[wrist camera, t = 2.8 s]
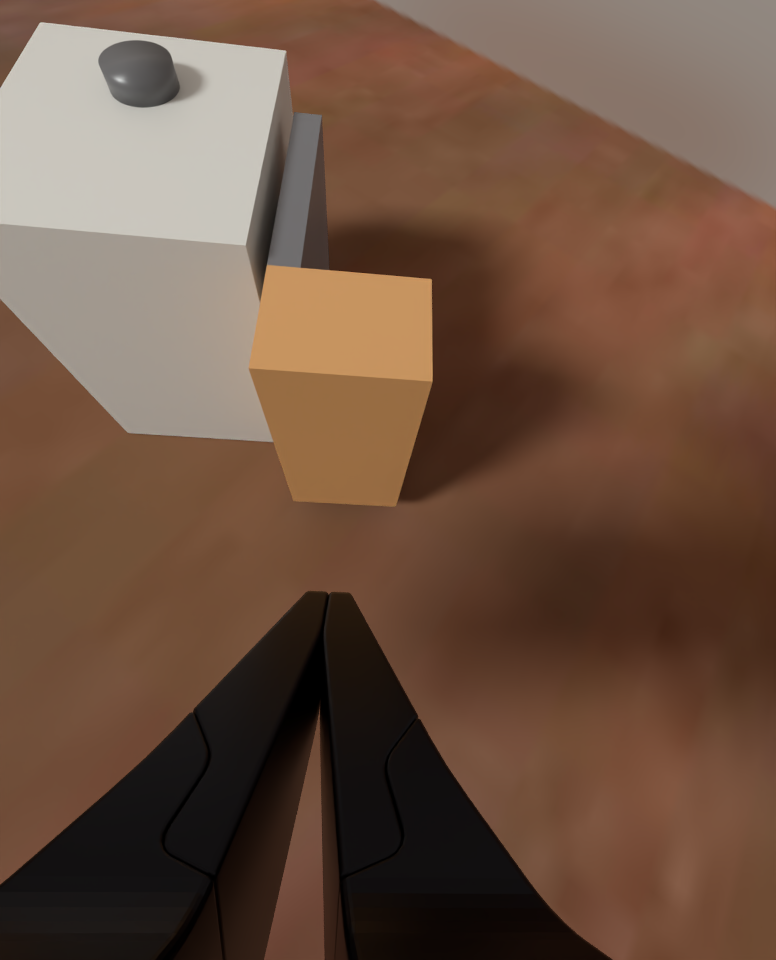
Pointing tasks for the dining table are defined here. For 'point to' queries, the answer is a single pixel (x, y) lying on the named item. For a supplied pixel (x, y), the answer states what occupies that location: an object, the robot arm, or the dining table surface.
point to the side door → (336, 350)
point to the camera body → (144, 218)
